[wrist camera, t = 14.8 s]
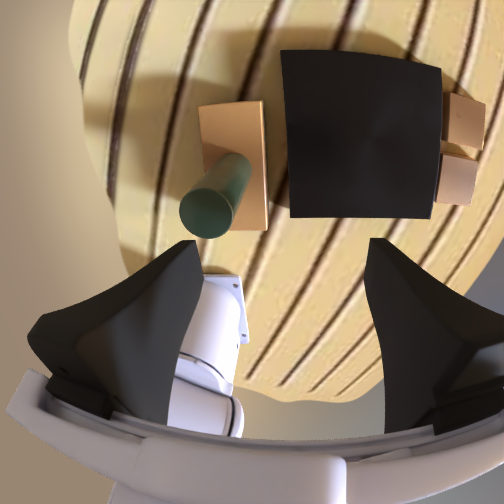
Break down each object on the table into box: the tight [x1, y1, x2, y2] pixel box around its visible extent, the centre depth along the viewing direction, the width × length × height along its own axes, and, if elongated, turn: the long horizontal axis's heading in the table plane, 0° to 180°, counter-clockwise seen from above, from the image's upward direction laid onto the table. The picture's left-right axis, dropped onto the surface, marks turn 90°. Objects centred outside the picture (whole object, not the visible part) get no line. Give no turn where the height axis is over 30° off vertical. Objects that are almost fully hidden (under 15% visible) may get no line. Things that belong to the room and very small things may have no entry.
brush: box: [179, 100, 269, 239], centre depth 15 cm, size 9×4×10 cm, turn 3°
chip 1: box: [441, 91, 486, 150], centre depth 14 cm, size 4×4×1 cm
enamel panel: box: [280, 50, 442, 219], centre depth 16 cm, size 12×12×2 cm
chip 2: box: [434, 152, 478, 206], centre depth 17 cm, size 4×4×1 cm
